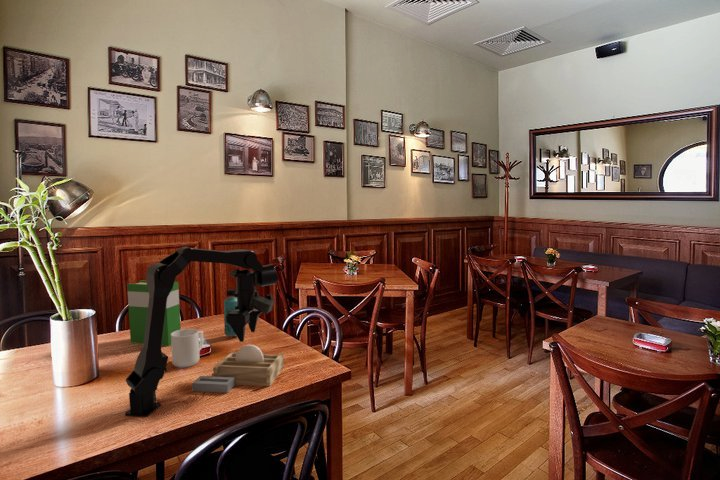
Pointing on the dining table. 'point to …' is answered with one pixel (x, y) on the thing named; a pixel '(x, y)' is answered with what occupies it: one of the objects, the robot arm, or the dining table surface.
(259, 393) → the dining table surface
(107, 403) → the dining table surface
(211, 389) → the stand
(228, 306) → the beverage bottle
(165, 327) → the green cereal box
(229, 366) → the rack
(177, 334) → the mug
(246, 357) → the plate
